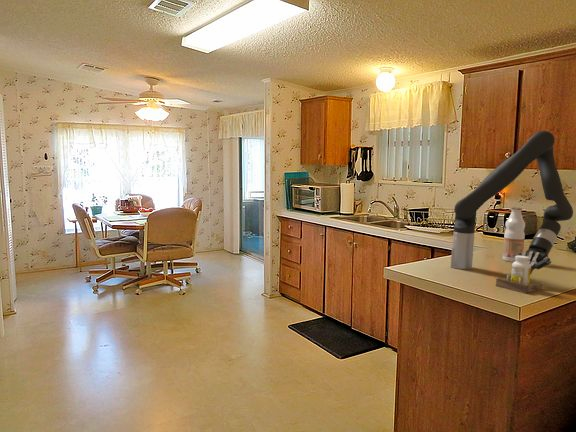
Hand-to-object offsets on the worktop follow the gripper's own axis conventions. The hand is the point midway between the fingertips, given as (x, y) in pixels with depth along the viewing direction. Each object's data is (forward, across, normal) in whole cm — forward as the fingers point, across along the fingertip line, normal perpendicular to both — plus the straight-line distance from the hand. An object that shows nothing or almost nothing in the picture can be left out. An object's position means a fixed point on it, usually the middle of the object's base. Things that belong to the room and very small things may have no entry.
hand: (525, 274), depth 170 cm
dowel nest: (+6, -1, +1) cm, 6 cm away
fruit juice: (-27, -29, +35) cm, 53 cm away
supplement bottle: (+6, 0, +1) cm, 6 cm away
